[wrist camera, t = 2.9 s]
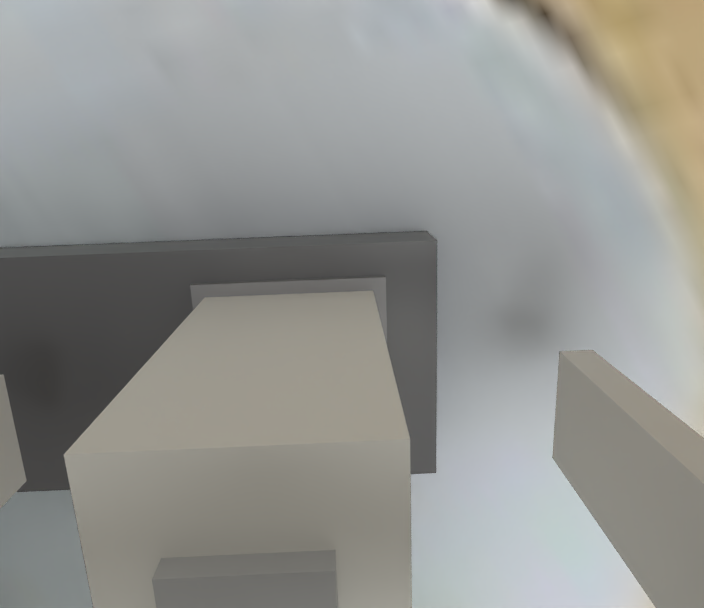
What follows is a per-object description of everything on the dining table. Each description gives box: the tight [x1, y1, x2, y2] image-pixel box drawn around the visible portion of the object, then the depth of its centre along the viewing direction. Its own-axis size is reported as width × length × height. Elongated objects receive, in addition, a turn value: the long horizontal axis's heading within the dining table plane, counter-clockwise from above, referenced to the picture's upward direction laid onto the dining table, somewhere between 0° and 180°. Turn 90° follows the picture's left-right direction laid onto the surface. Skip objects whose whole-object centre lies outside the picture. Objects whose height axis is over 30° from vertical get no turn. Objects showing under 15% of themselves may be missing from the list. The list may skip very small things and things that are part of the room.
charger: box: [64, 291, 412, 608], centre depth 12 cm, size 4×4×8 cm
